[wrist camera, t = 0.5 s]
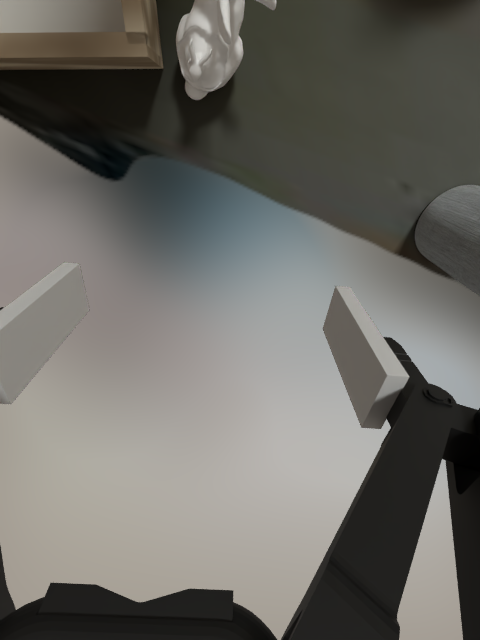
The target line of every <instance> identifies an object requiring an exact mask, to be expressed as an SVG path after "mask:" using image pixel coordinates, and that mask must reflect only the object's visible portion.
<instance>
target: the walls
mask: <svg viewBox="0 0 480 640" xmlns="http://www.w3.org/2000/svg"><path fill="white" fill-rule="evenodd" d="M121 4H122V11H123V17H124V23H125V30H126V32H45V33H0V70H56V69H163V60H162V51H161V42H160V33H159V24H158V15H157V6H156V0H121Z"/></svg>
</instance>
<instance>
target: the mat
mask: <svg viewBox="0 0 480 640" xmlns="http://www.w3.org/2000/svg"><path fill="white" fill-rule="evenodd" d="M45 32H126V30H125V23H124V17H123V11H122V4H121V0H0V33H45Z"/></svg>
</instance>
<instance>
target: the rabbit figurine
mask: <svg viewBox="0 0 480 640" xmlns="http://www.w3.org/2000/svg"><path fill="white" fill-rule="evenodd" d="M256 1H258V2H260V3H262V4H264V5H265V6H267V7H268V8H270V9H272V10H273V11H274V10H275V8H276V0H256ZM244 6H245V0H195V1H194V4H193V7H192V10H191V12H190V13H189V14H186V15H184V16H183V17H182V18H181V21H180V23H179V27H178V30H177V35H176V48H177V54H178V59H179V63H180V67H181V72H182V74H183V76H184V78H185V79H186V82H185V90H186V93H187V94H188V96H189V97H190V98H191V99H194V100H200V99H202V98H203V97H205V96H206V95H207V93H208V92H211V91H214V90H217V89H219V88H221V87H223V86H224V85H225V84H226V83H227V82H228V81H229V79H230V78H231V77H232V76H233V74H234V72H235V71H236V69H237V68H238V66H239V64H240V62H241V60H242V58H243V47H242V40H241V38H240V37H239V30H240V27H241V24H242V21H243V16H244Z"/></svg>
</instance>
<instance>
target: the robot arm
mask: <svg viewBox="0 0 480 640" xmlns="http://www.w3.org/2000/svg"><path fill="white" fill-rule="evenodd" d="M89 310H90V309H89V305H88V301H87V296H86V291H85V286H84V282H83V277H82V273H81V269H80V264H78V263H67V262H64V263H63V264H61V265H60V266H58V267H57V268H56V269H54V270H53V271H52V272H51V273H49V274H48V275H47V276H45V277H44V278H43V279H41V280H40V281H39V282H37V283H36V284H35V285H33V286H32V287H31V288H29V289H28V290H27V291H25V292H24V293H23V294H22V295H20V296H19V297H17V298H16V299H15V300H13V301H12V302H11V303H10V304H8V305H7V306H6V307H4V308H3V307H2V308H0V403H3V404H12V403H13V401H14V400H15V399H16V398H17V397H18V395H19V394H20V393H21V392H22V391H23V389H24V388H25V387H26V386H27V385H28V383H29V382H30V381H31V380H32V379H33V377H34V376H35V375H36V374H37V373H38V371H39V370H40V369H41V368H42V367H43V365H44V364H45V363H46V362H47V361H48V359H49V358H50V357H51V356H52V355H53V353H54V352H55V351H56V350H57V349H58V347H59V346H60V345H61V344H62V343H63V341H64V340H65V339H66V338H67V337H68V335H69V334H70V333H71V332H72V331H73V330H74V328H75V327H76V326H77V325H78V324H79V322H80V321H81V320H82V319H83V318H84V316H85V315H86V314H87V313H88V312H89ZM323 331H324V333H325V336H326V339H327V341H328V344H329V346H330V349H331V351H332V354H333V356H334V359H335V362H336V364H337V367H338V369H339V372H340V374H341V377H342V379H343V382H344V384H345V387H346V389H347V392H348V395H349V397H350V400H351V402H352V405H353V407H354V410H355V412H356V415H357V417H358V420H359V423H360V425H361V427H362V428H375V429H381V428H382V426H383V424H384V422H385V420H386V419H387V420H388V422H389V424H390V426H391V429H390V431H389V432H388V434H387V436H386V437H385V439H384V441H383V443H382V445H381V448H380V450H379V452H378V454H377V456H376V457H375V459H374V461H373V463H372V465H371V467H370V469H369V471H368V473H367V475H366V477H365V479H364V481H363V483H362V485H361V487H360V489H359V491H358V493H357V494H356V497H355V498H354V500H353V502H352V504H351V506H350V508H349V510H348V512H347V514H346V516H345V518H344V520H343V522H342V524H341V526H340V528H339V529H338V531H337V533H336V535H335V537H334V539H333V541H332V543H331V545H330V547H329V549H328V551H327V553H326V555H325V557H324V559H323V561H322V563H321V565H320V566H319V569H318V570H317V572H316V575H315V576H314V578H313V580H312V582H311V584H310V586H309V588H308V590H307V592H306V594H305V596H304V598H303V599H302V601H301V603H300V605H299V607H298V608H297V610H296V612H295V614H294V616H293V618H292V620H291V622H290V623H289V625H288V627H287V629H286V631H285V633H284V635H283V637H282V639H281V640H399V633H400V626H399V624H398V622H397V612H398V608H399V604H400V601H401V598H402V594H403V591H404V587H405V584H406V580H407V577H408V574H409V570H410V567H411V563H412V560H413V556H414V553H415V549H416V546H417V543H418V539H419V536H420V532H421V529H422V525H423V522H424V519H425V515H426V512H427V508H428V505H429V501H430V498H431V494H432V491H433V488H434V484H435V481H436V477H437V474H438V470H439V467H440V463H441V460H442V459H444V460H446V469H447V479H448V488H449V499H450V509H451V519H452V530H453V540H454V550H455V559H456V570H457V580H458V591H459V600H460V611H461V621H462V631H463V640H480V408H479V410H476V409H473V408H469V407H466V406H463V405H459V404H456V401H455V400H454V398H453V397H452V396H451V395H450V394H449V393H448V392H446V391H445V390H443V389H442V388H440V387H438V386H435V385H433V384H428V382H427V381H426V380H425V378H424V377H423V375H422V374H421V373H420V371H419V370H418V368H417V367H416V366H415V364H414V363H413V362H411V359H410V357H409V356H408V355H407V353H406V352H405V350H404V349H403V348H402V346H401V345H400V344H398V343H397V342H396V341H395V340H393V339H392V338H387V337H383V336H382V335H381V333H380V332H379V330H378V329H377V327H376V326H375V324H374V323H373V321H372V320H371V318H370V317H369V315H368V314H367V312H366V311H365V310H364V308H363V306H362V305H361V303H360V302H359V300H358V299H357V297H356V296H355V294H354V293H353V291H352V290H351V288H350V287H343V286H335V289H334V293H333V296H332V300H331V303H330V306H329V310H328V313H327V316H326V320H325V323H324V327H323ZM0 640H277V639H276V637H275V636H274V635H273V633H272V632H271V630H270V629H269V628H268V627H267V626H266V625H265V624H264V623H263V622H262V621H261V620H260V619H259V618H258V617H257V616H256V615H254V614H253V613H252V612H250V611H249V610H247V609H246V608H244V607H243V606H240V605H238V604H236V603H234V602H233V591H230V590H207V589H187V590H183V591H180V592H177V593H173V594H170V595H166V596H163V597H160V598H157V599H153V600H149V601H146V602H141V603H140V602H135V601H133V600H130V599H128V598H126V597H123V596H121V595H119V594H116V593H114V592H112V591H110V590H107V589H105V588H103V587H100V586H98V585H91V584H67V583H50V586H49V588H48V590H47V593H46V595H45V597H43V598H40V599H38V600H36V601H33V602H31V603H28V604H26V605H24V606H23V607H21V608H19V609H17V610H16V609H15V606H14V603H13V600H12V598H11V596H10V594H9V591H8V588H7V585H6V580H5V573H4V567H3V560H2V553H1V547H0Z"/></svg>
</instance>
